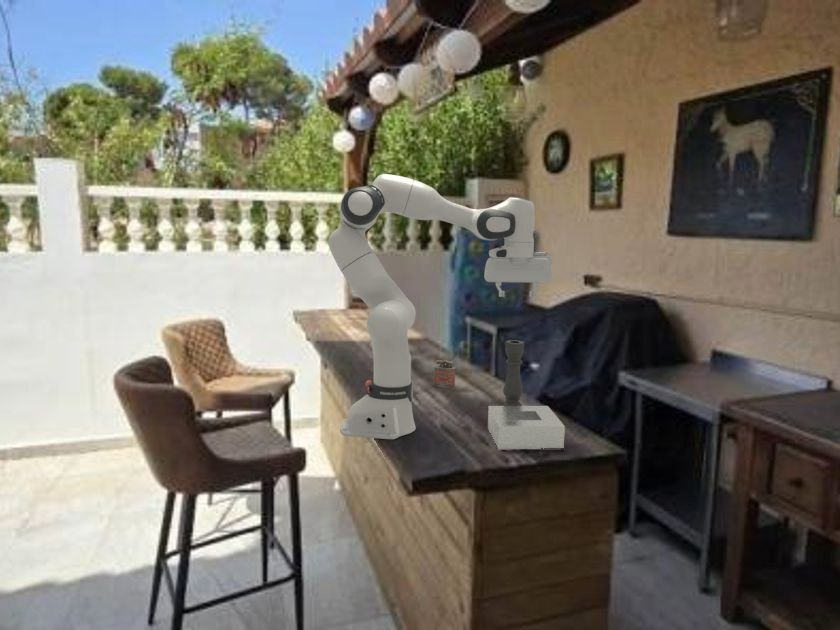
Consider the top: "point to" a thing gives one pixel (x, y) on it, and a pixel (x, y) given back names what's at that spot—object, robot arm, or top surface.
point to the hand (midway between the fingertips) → (516, 297)
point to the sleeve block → (525, 427)
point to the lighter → (444, 374)
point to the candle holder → (513, 373)
